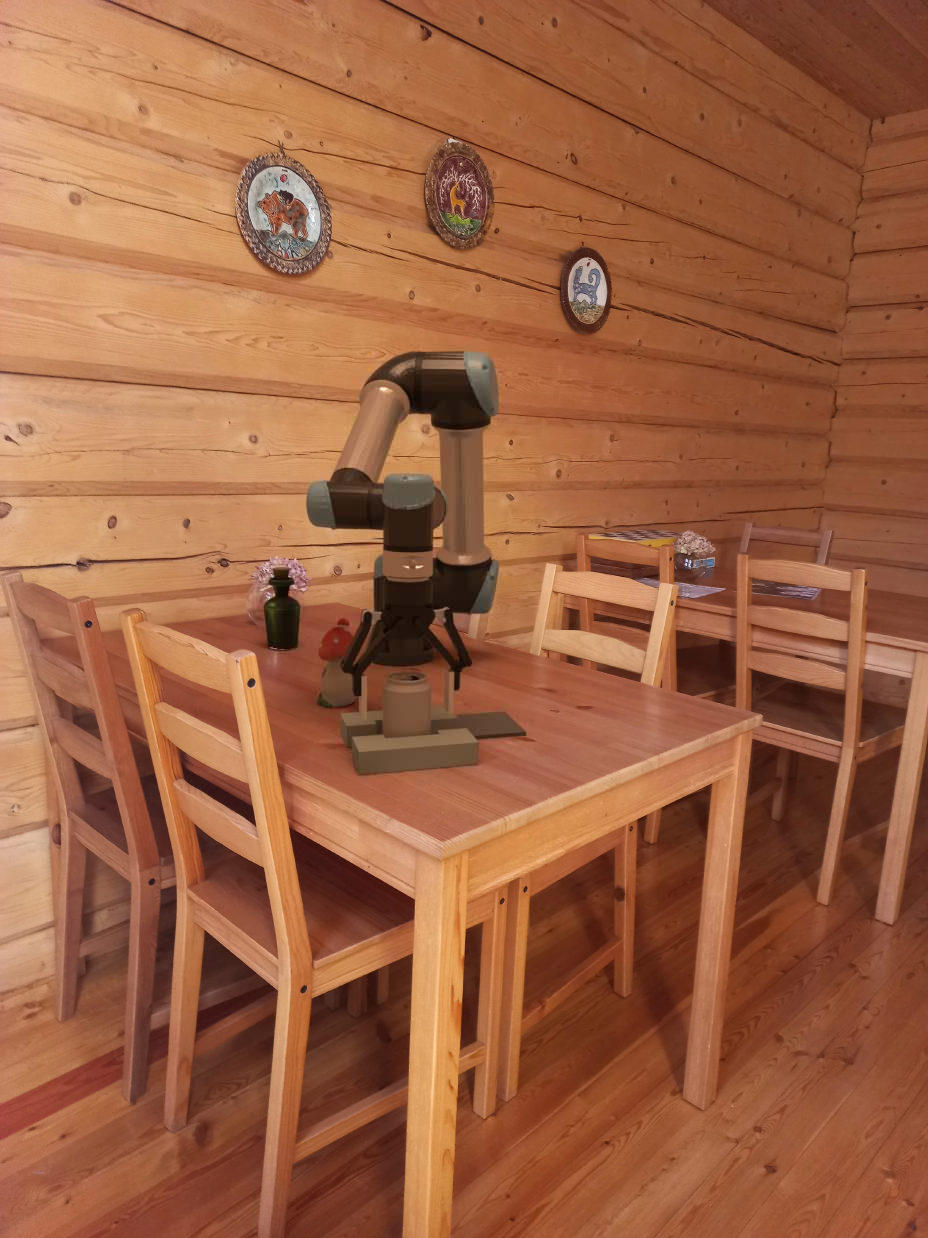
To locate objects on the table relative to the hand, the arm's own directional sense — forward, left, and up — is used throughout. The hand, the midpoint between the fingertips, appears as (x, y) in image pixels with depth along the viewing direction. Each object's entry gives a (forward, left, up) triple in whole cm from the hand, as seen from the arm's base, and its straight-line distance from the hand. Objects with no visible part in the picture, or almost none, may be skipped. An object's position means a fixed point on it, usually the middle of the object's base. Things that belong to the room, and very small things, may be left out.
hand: (406, 713), depth 137 cm
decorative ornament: (-26, -7, -6) cm, 28 cm away
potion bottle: (-69, -13, -6) cm, 71 cm away
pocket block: (0, 0, -6) cm, 6 cm away
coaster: (-7, +15, -6) cm, 18 cm away
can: (0, 0, -6) cm, 6 cm away
